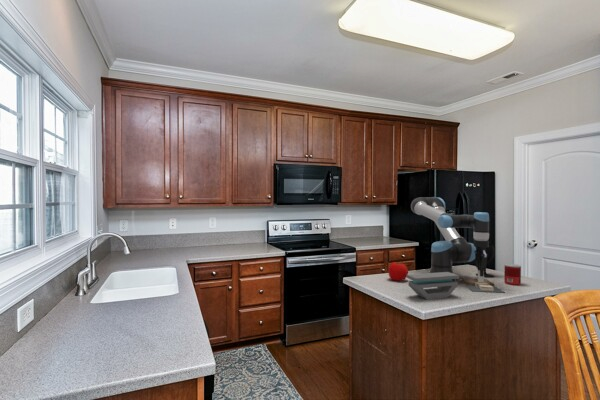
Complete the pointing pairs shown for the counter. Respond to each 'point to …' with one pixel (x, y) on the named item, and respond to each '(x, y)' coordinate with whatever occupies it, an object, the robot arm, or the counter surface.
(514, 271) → the canned food
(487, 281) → the walnut deck
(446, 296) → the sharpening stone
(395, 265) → the tomato
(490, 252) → the wine glass
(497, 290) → the rubber mat
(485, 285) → the birch tile
